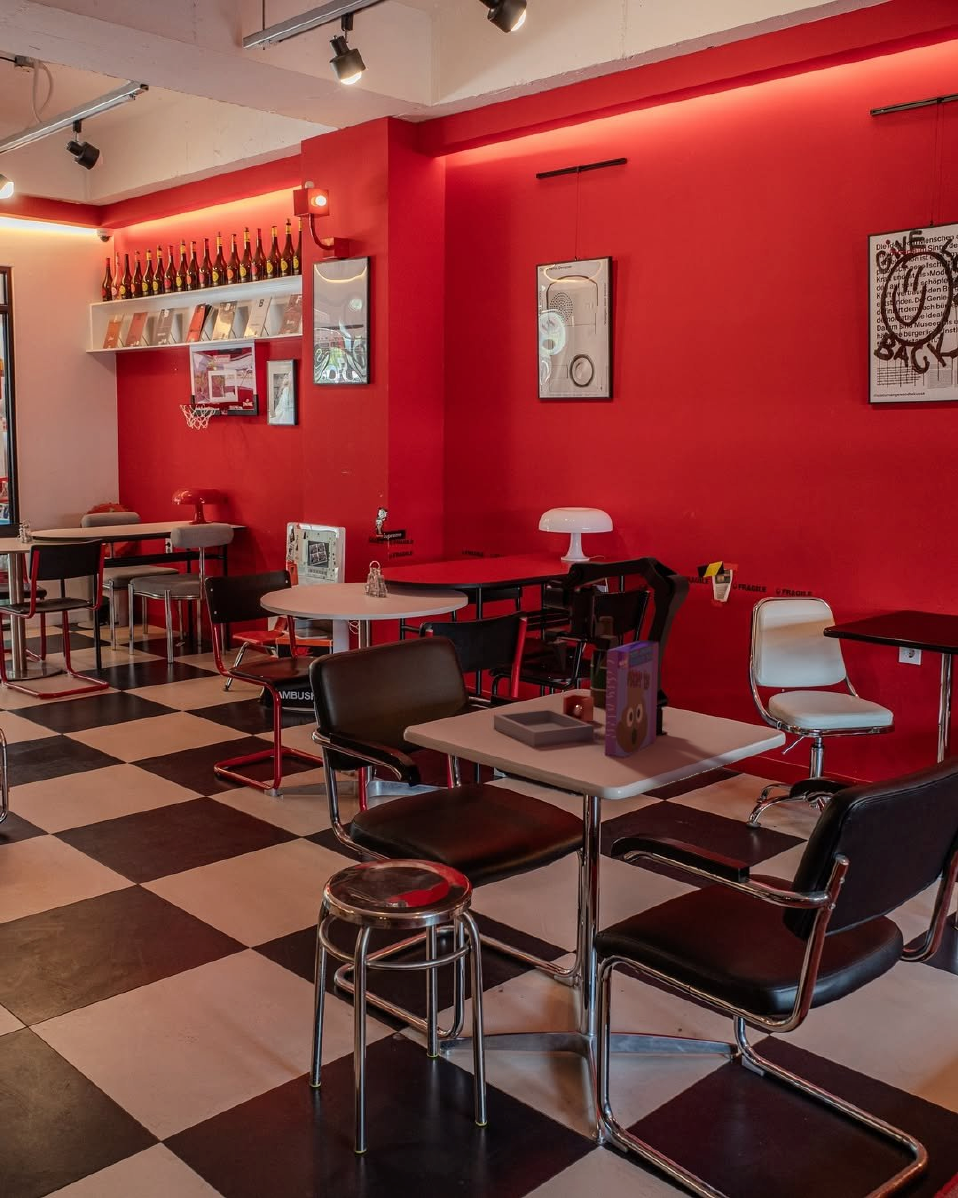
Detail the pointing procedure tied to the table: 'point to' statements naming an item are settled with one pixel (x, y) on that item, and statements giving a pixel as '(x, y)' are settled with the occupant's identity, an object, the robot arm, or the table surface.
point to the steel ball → (577, 710)
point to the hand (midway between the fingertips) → (579, 672)
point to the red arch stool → (584, 701)
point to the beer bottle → (601, 669)
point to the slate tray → (543, 727)
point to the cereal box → (631, 698)
